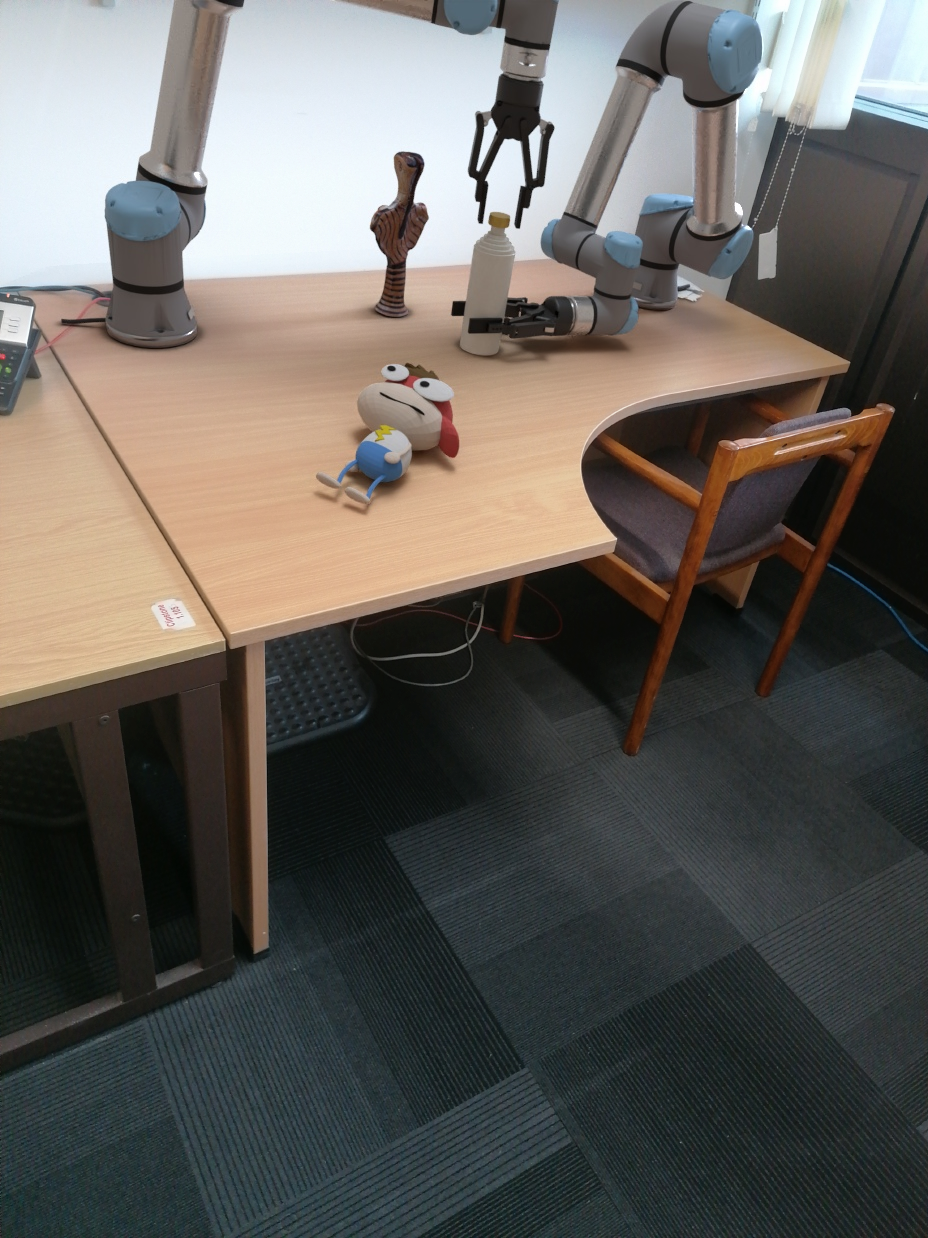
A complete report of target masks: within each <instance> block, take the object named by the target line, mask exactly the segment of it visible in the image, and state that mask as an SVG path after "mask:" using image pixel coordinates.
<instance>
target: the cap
mask: <svg viewBox="0 0 928 1238" xmlns="http://www.w3.org/2000/svg"><path fill="white" fill-rule="evenodd" d="M487 223H488V225H489V226H490V227H491V226H493V227H497V228H505V229H508V228H509V227H510V223H511V215H509V214H508V213H505V212H502V211H491V212H490V213H489V215H488V220H487Z"/></svg>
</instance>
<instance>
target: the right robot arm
mask: <svg viewBox="0 0 928 1238" xmlns="http://www.w3.org/2000/svg"><path fill="white" fill-rule="evenodd" d="M763 53H764V37H763V32H762V29H761V26H760V24H759V22H758V21H757V20H756V19H755V18H753V17H752V16H751V15H748V14H745V13H742V12H740V11H739V10H736V9H722V8H718V7H714V6H710V5H706V4H702V3H697V2H693V1H691V0H672V1H669V2H667V3H663V4H662V5H660V6H658V7H657V8H655V9H654V10H653V11H651V12H650V13H649V14H647V16H645V18H644V19H643V20H642V21H641V22H640V23H639V24H638V26H637V27H636V28H635V30H634V31H633V33H632V34H630V37H629V39H627V41H626V43H625V45H624V46H623V48H622V50H621V52H620V55H619V57H618V59H617V63H616V64H615V68H614V72H615V76H616V79H615V81H614V84H613V86H612V90H611V92H610V95H609V97H608V100H607V102H606V105H605V107H604V109H603V111H602V114H601V118H600V120H599V123H598V125H597V128H596V130H595V132H594V135H593V137H592V140H591V143H590V145H589V148H588V150H587V152H586V155H585V158H584V160H583V162H582V165H581V168H580V171H579V173H578V176H577V178H576V180H575V183H574V186H573V188H572V191H571V193H570V196H569V198H568V201H567V204H566V205H565V209H564V211H563V212H562V216H561V218H553V219H551V220H550V221H549V222H548V223H547V226H544V228H543V230H542V233H541V236H540V249H541V251H542V253H543V254H544V255H545V256H546V257H548V258H550V259H551V260H554V261H555V262H557V263H558V264H561V265H562V264H563V265H565V266H567V267H569V268H572V269H574V270H577V271H579V272H581V273H583V274H586V275H587V276H589V277H592V278H594V279H595V281H594V286H593V293H592V295H567V296H565V295H550V296H547V297H546V298H545V300H544V301H543V302H542V303H541V304H540V303H538V302H530V303H529V298H528V297H526V296H524V297H509V296H508V299H507V305H506V310H505V316H504V322H503V323H502V321H503V319H502V318H470V320H469V327H468V333H469V334H484V333H500V332H502V334H501V335H504V336H508V338H509V339H511V340H512V339H525V338H532V337H533V338H534V337H564V336H571V337H572V338H576V336H617V335H624V334H629V333H631V332H632V331H633V330H634V329H635V328H636V325H638V324H637V323H638V320H639V315H638V313H639V308H640V309H646V310H652V311H666V310H671V309H674V308H675V307H676V305H677V301H678V299H679V297H678V295H679V294H678V293H679V292H678V291H680V290H685V289H690V287H691V284H689V283H687V284H684V285H679V286H678V270H679V266H680V265H681V266H683V267H686V268H689V269H690V270H693V271H695V272H698V273H700V274H703V275H705V276H707V277H709V278H714V279H717V280H727V279H728V278H730V277H732V276H733V275H734V274H735V273H737V271H738V270H739V269H740V268H741V266H742V265H743V263H744V261H745V260H746V258H747V256H748V254H749V253H750V250H751V248H752V245H753V242H754V231H753V229H752V228H751V227H750V226H749V225H747V224H745V225H744V224H743V209H742V207H741V205H740V204H739V203H738V202H736V193H737V190H736V189H737V162H738V161H737V160H738V159H737V156H738V125H739V100H740V99H741V98H742V97H743V96H744V95H745V94H746V92H747V89H748V88H749V87H750V86H751V85H752V84H753V83H754V81H755V79H756V77H757V75H758V72H759V70H760V69H759V65H760V63H762V59H763ZM669 76H670V77H673V78H677V79H679V80H681V81H682V97H683V101H684V102H685V103H686V104H687V105H688V106H690V107H691V108H690V109H691V165H692V167H691V168H692V196H689V195H684V194H677V193H651V194H649V195H647V196H646V197H645V199H644V200H643V203H642V206H641V209H640V212H639V214H638V220H637V224H636V230H635V233H630V232H626V231H623V230H612V231H609V232H608V233H607V234H606V235H605V236H602V235H599V234H598V233H597V230H598V228H599V225H600V222H601V220H602V218H603V215H604V213H605V210H606V208H607V205H608V203H609V202H610V199H611V196H612V194H613V191H614V189H615V186H616V184H617V182H618V179H619V177H620V174H621V172H622V169H623V167H624V164H625V163H626V160H627V157H628V156H629V153H630V150H631V148H632V146H633V143H634V141H635V138H636V136H637V133H638V131H639V129H640V126H641V124H642V122H643V119H644V117H645V114H646V112H647V110H648V108H649V105H650V103H651V100H652V98H653V96H654V94H655V93H657V92H660V91H661V90H662V87H663V85H664V83H665V80H666V78H668V77H669ZM465 304H466V300H452V304H451V310H450V311H451V312H450V316H452V317H464V311H465Z"/></svg>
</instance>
